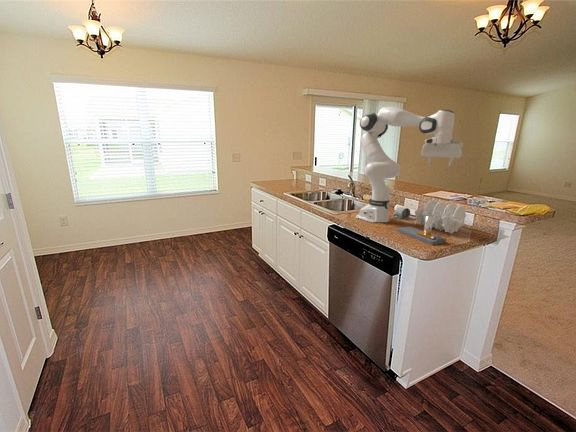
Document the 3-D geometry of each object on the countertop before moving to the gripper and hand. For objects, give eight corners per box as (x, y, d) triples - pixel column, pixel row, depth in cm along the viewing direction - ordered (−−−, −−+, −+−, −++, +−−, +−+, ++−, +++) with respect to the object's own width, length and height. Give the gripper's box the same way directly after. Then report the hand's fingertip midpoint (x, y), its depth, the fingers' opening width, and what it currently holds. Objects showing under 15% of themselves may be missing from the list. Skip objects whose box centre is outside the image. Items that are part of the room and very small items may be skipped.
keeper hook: (431, 238, 157) (432, 235, 157) (435, 237, 158) (436, 234, 158) (437, 240, 154) (437, 237, 154) (441, 239, 155) (441, 236, 155)
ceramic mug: (401, 215, 210) (402, 205, 208) (410, 218, 203) (411, 207, 201) (389, 217, 206) (390, 206, 204) (398, 220, 199) (399, 209, 197)
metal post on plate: (416, 233, 165) (418, 214, 162) (423, 232, 167) (425, 213, 164) (432, 239, 156) (435, 219, 153) (439, 237, 158) (442, 218, 155)
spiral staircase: (425, 229, 192) (463, 238, 171) (409, 221, 183) (447, 230, 162) (434, 203, 192) (474, 209, 171) (419, 194, 183) (459, 199, 162)
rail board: (397, 231, 175) (397, 228, 175) (409, 229, 179) (410, 226, 179) (432, 245, 153) (432, 241, 153) (445, 242, 157) (446, 239, 157)
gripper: (465, 140, 159) (461, 166, 162) (425, 140, 172) (422, 163, 175) (462, 140, 154) (458, 167, 158) (421, 140, 167) (419, 164, 171)
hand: (439, 165), depth 167 cm, fingers open, 8 cm apart
